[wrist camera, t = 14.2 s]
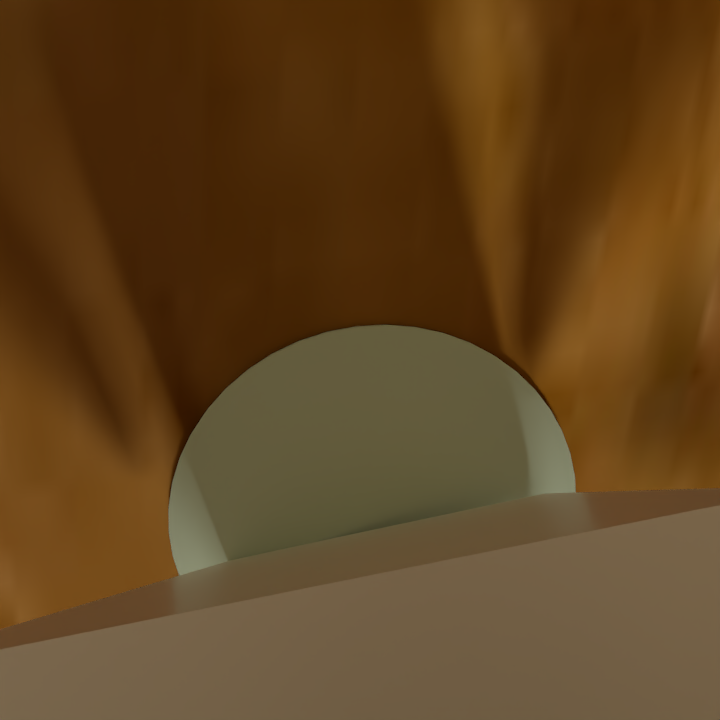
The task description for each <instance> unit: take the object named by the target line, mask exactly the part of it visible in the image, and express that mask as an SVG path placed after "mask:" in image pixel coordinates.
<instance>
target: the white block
mask: <svg viewBox="0 0 720 720" xmlns="http://www.w3.org/2000/svg"><path fill="white" fill-rule="evenodd" d="M0 720H720V488H710V489H677V490H643V491H610V492H576V493H544V494H539V495H535V496H530V497H525V498H520V499H516V500H511V501H506V502H502V503H497V504H492V505H487V506H483V507H478V508H473V509H469V510H464V511H459V512H454V513H450V514H445V515H440V516H436V517H431V518H426V519H421V520H417V521H412V522H407V523H402V524H398V525H393V526H388V527H384V528H379V529H374V530H369V531H365V532H360V533H355V534H351V535H346V536H341V537H336V538H332V539H327V540H322V541H318V542H313V543H308V544H304V545H299V546H295V547H290V548H285V549H281V550H276V551H272V552H267V553H262V554H258V555H253V556H249V557H244V558H240V559H235V560H230V561H226V562H223V563H220V564H216V565H213V566H210V567H206V568H203V569H200V570H196V571H193V572H190V573H186V574H183V575H180V576H176V577H173V578H170V579H166V580H163V581H160V582H156V583H153V584H150V585H146V586H143V587H140V588H136V589H133V590H130V591H126V592H123V593H120V594H116V595H113V596H110V597H106V598H103V599H100V600H96V601H93V602H90V603H86V604H83V605H80V606H76V607H73V608H70V609H67V610H63V611H60V612H57V613H53V614H50V615H47V616H43V617H40V618H37V619H33V620H30V621H27V622H23V623H20V624H17V625H13V626H10V627H7V628H3V629H0Z"/></svg>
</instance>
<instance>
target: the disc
mask: <svg viewBox="0 0 720 720" xmlns="http://www.w3.org/2000/svg"><path fill="white" fill-rule="evenodd" d="M544 493H576V491H575V475H574V470H573V465H572V460H571V455H570V451H569V449H568V446H567V443H566V440H565V438H564V435H563V432H562V430H561V428H560V426H559V424H558V423H557V421H556V419H555V417H554V415H553V413H552V412H551V410H550V408H549V407H548V406H547V404H546V403H545V402H544V400H543V399H542V398H541V397H540V395H539V394H538V393H537V391H536V390H535V389H534V388H533V387H532V386H531V385H530V384H529V383H528V382H527V381H526V380H525V379H524V378H523V377H522V376H521V375H520V374H519V373H518V372H516V371H515V370H514V369H512V368H511V367H510V366H508V365H507V364H505V363H504V362H503V361H501V360H500V359H498V358H497V357H496V356H494V355H492V354H491V353H489V352H487V351H485V350H483V349H481V348H479V347H477V346H475V345H474V344H472V343H470V342H467V341H465V340H462V339H459V338H456V337H454V336H451V335H448V334H445V333H442V332H438V331H433V330H428V329H424V328H419V327H413V326H400V325H387V324H384V325H366V326H354V327H348V328H343V329H338V330H332V331H327V332H324V333H321V334H318V335H315V336H312V337H309V338H305V339H302V340H299V341H297V342H295V343H293V344H291V345H289V346H287V347H284V348H282V349H280V350H278V351H276V352H274V353H272V354H270V355H269V356H267V357H266V358H264V359H263V360H261V361H260V362H258V363H257V364H255V365H253V366H252V367H250V368H249V369H248V370H246V371H245V372H244V373H243V374H242V375H241V376H239V377H238V378H237V379H236V380H235V381H234V382H232V383H231V384H230V385H229V386H228V387H227V388H226V389H225V390H224V391H223V392H222V393H221V394H220V395H219V397H218V398H217V399H216V400H215V401H214V402H213V403H212V404H211V406H210V407H209V408H208V409H207V410H206V412H205V413H204V415H203V416H202V418H201V419H200V421H199V422H198V424H197V426H196V427H195V429H194V430H193V432H192V433H191V435H190V437H189V439H188V441H187V443H186V445H185V447H184V450H183V452H182V454H181V456H180V458H179V461H178V465H177V468H176V471H175V475H174V478H173V481H172V486H171V494H170V501H169V508H168V509H169V536H170V542H171V548H172V554H173V558H174V561H175V564H176V567H177V570H178V573H179V576H180V575H183V574H186V573H190V572H193V571H196V570H200V569H203V568H206V567H210V566H213V565H216V564H220V563H223V562H226V561H230V560H235V559H240V558H244V557H249V556H253V555H258V554H262V553H267V552H272V551H276V550H281V549H285V548H290V547H295V546H299V545H304V544H308V543H313V542H318V541H322V540H327V539H332V538H336V537H341V536H346V535H351V534H355V533H360V532H365V531H369V530H374V529H379V528H384V527H388V526H393V525H398V524H402V523H407V522H412V521H417V520H421V519H426V518H431V517H436V516H440V515H445V514H450V513H454V512H459V511H464V510H469V509H473V508H478V507H483V506H487V505H492V504H497V503H502V502H506V501H511V500H516V499H520V498H525V497H530V496H535V495H539V494H544Z"/></svg>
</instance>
